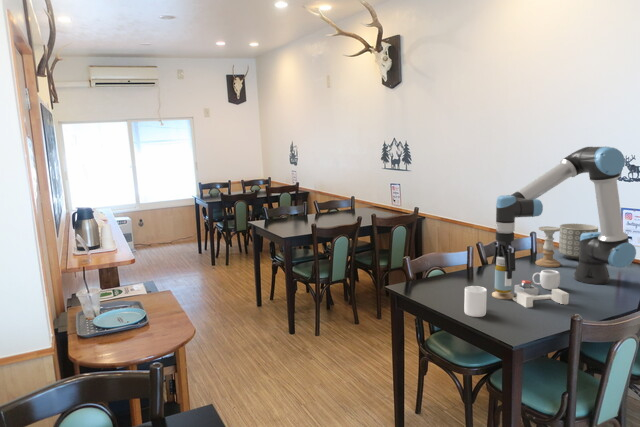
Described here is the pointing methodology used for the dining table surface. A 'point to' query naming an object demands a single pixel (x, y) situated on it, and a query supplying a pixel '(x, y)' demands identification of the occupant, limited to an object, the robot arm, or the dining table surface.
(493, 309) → the dining table surface
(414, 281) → the dining table surface
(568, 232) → the planter
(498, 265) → the bottle
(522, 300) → the housing
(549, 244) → the candle holder
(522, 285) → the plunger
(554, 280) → the mug
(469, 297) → the cup
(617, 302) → the dining table surface
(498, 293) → the pad
